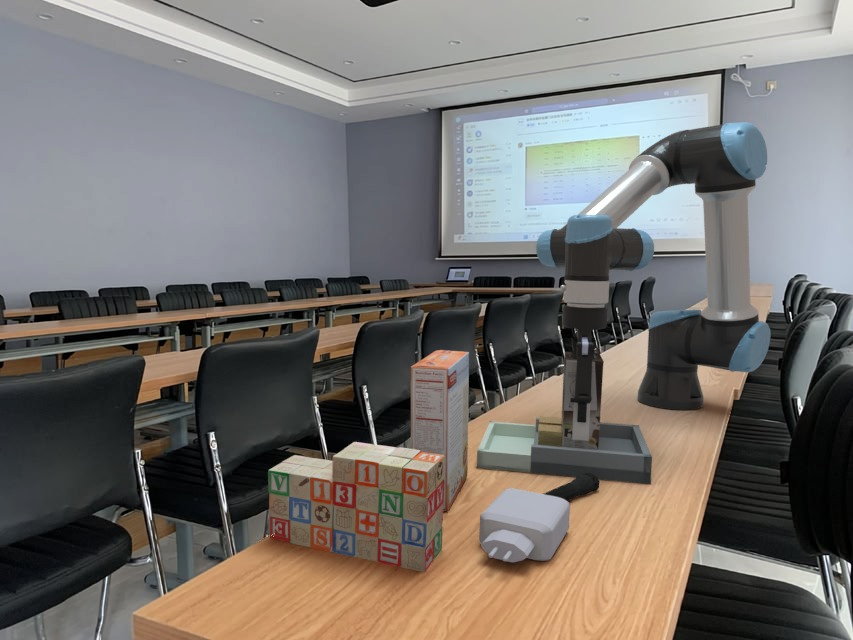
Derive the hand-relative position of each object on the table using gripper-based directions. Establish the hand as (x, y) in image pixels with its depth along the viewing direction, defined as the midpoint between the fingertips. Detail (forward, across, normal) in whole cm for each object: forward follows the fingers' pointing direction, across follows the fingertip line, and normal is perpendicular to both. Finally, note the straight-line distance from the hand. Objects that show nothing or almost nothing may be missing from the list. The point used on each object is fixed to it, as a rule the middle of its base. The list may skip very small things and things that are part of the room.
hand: (579, 431), depth 108 cm
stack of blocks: (+5, +40, -28) cm, 49 cm away
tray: (+5, 0, -12) cm, 13 cm away
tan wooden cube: (+3, -3, -5) cm, 7 cm away
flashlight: (+6, +20, -3) cm, 21 cm away
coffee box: (+3, 0, 0) cm, 3 cm away
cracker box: (+5, +21, -21) cm, 30 cm away
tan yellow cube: (+3, +2, -5) cm, 6 cm away
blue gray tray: (+5, 0, +2) cm, 5 cm away
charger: (+6, +36, -8) cm, 37 cm away
